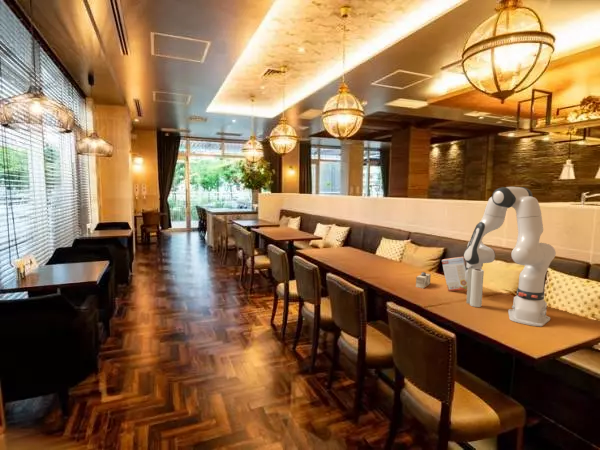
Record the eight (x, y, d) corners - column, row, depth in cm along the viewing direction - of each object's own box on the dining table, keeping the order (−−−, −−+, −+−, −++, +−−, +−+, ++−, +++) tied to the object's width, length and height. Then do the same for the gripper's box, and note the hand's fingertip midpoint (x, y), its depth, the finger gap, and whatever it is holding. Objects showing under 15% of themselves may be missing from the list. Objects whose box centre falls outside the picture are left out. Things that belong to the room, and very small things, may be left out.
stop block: (423, 288, 232) (423, 275, 231) (415, 286, 236) (416, 274, 235) (430, 283, 243) (430, 271, 242) (423, 282, 246) (423, 270, 245)
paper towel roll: (483, 307, 197) (486, 270, 194) (474, 307, 196) (476, 271, 193) (475, 303, 204) (477, 267, 201) (466, 303, 203) (468, 268, 200)
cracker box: (472, 288, 222) (465, 256, 224) (470, 289, 218) (462, 257, 220) (450, 289, 231) (444, 258, 234) (447, 291, 227) (441, 259, 229)
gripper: (474, 268, 209) (472, 290, 211) (483, 263, 224) (482, 284, 226) (463, 267, 213) (462, 288, 215) (473, 262, 228) (472, 282, 230)
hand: (472, 286), depth 220 cm, fingers closed, pressing on cracker box
